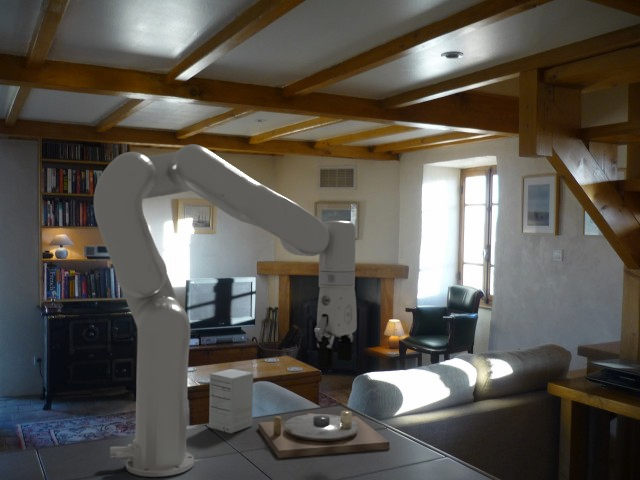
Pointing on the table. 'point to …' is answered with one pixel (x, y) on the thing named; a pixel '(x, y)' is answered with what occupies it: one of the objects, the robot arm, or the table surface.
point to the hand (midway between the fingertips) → (335, 363)
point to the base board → (297, 447)
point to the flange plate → (322, 426)
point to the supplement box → (231, 400)
